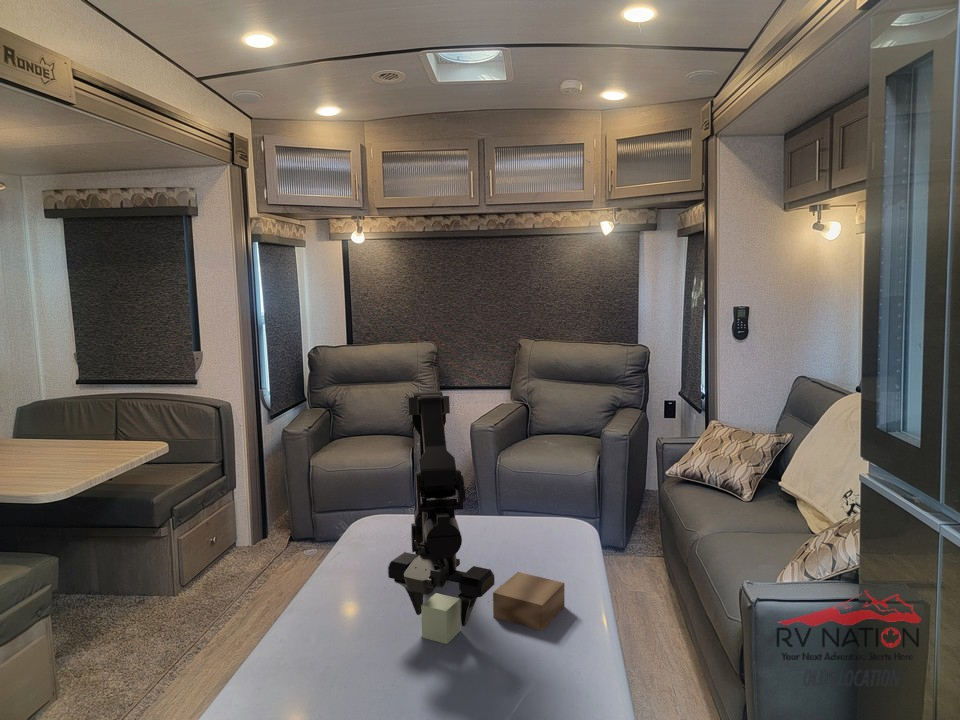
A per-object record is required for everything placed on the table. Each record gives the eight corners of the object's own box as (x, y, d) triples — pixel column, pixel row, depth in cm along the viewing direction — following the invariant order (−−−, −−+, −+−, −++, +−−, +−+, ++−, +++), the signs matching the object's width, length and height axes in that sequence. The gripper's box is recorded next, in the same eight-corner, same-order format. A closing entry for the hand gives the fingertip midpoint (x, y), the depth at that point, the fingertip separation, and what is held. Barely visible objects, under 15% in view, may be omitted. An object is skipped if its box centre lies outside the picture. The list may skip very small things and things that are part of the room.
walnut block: (493, 618, 122) (493, 592, 122) (517, 595, 131) (517, 571, 130) (542, 631, 117) (542, 605, 117) (564, 607, 126) (564, 582, 125)
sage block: (422, 637, 116) (421, 605, 115) (436, 624, 120) (435, 593, 119) (446, 644, 113) (446, 611, 113) (460, 630, 118) (460, 598, 117)
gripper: (367, 542, 112) (371, 629, 114) (464, 562, 103) (466, 655, 105) (404, 521, 122) (406, 601, 123) (495, 537, 113) (496, 623, 115)
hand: (441, 619), depth 117 cm, fingers open, 9 cm apart
